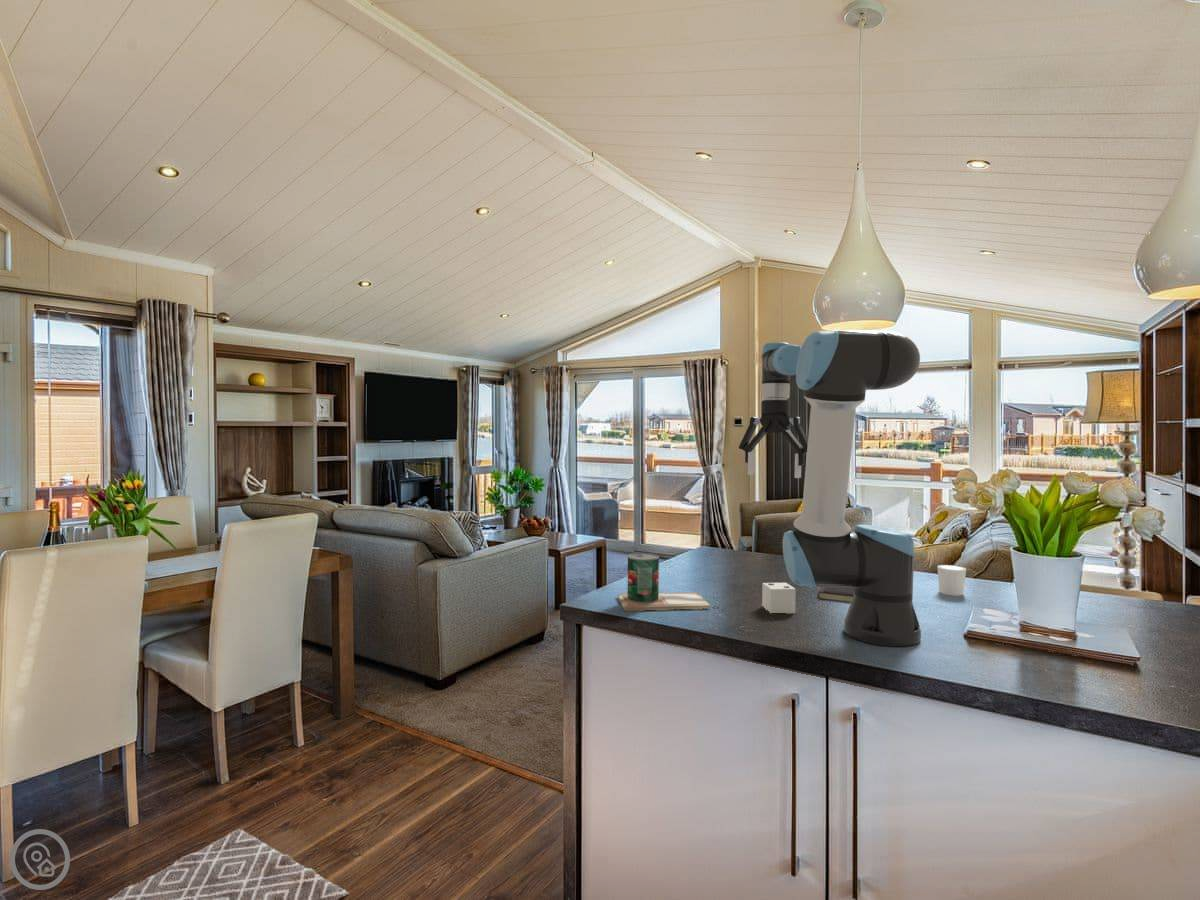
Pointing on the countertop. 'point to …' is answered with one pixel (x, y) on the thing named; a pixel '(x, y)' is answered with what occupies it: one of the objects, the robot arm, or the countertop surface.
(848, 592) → the hardcover book
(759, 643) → the countertop surface
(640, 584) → the canned tomato
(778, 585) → the die
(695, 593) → the game board
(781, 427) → the robot arm
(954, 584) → the white short cylinder
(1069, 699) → the countertop surface
